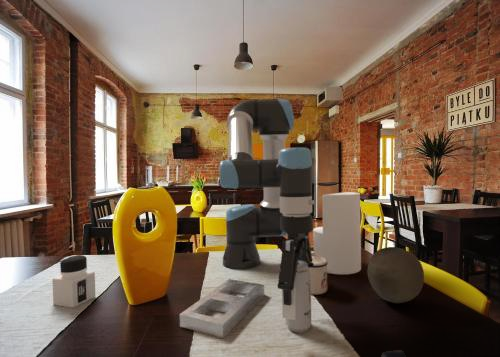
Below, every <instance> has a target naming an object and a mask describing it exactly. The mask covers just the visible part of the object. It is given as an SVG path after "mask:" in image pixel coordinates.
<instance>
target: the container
mask: <svg viewBox="0 0 500 357" xmlns="http://www.w3.org/2000/svg"><path fill="white" fill-rule="evenodd" d="M59 264H60V275H58V276H55V277H53V278H52V303H53V305H54V306H58V307H59V306H60V307H65V308H69V309H73V308H76V307H78V306H80V305H82V304H84V303H86V302H88V301H90V300H92V299H94V298H95V297H96V273H95V271H90V270H88V267H87V266H88V259H87V256H85V255H83V254H82V255H81V254H76V255H70V256H65V257H64V258H62V259H61V260H60V262H59Z"/></svg>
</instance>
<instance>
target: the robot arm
mask: <svg viewBox="0 0 500 357" xmlns="http://www.w3.org/2000/svg"><path fill="white" fill-rule="evenodd" d="M294 119H295V116H294V111H293V106H292V104H291V102H290V101H289V100H288V99H286V98H285V99H284V98H266V99H265V98H263V99H260V98H259V99H253V98H251V99H247V100H244V101H241V102H238V104H236V105H235V106H234V107H233V108H231V110H230V111H229V113H228V115H227V117H226V128H227V130H228V144H227V145H228V146H227V159H225V160H221V161H220V162H219V166H218V168H219V170H218V171H219V172H218V173H219V174H218V176H219V184H220V187H221V188H224V189H234V190H235V189H236V190H237V189H252V188H253V189H254V188H255V189H256V188H258V189H259V188H260V189H261V188H263V200H262V201H260V203H259V207H256V205H254V204H252V203H251V204H250V203H249V204H240V205H236V206H231V207H229V208H228V209H227V210H226V212H225V214H226V215H225V224H226V227H225V228H226V230H225V231H226V246H225V249H224V252H223V256H222V265H223V266H224V267H226V268H229V269H237V270H240V269H241V270H244V269H251V268H255V267H257V266H259V265H260V264H261V255H260V253H259V250H258V247H257V244H256V238H262V237H263V238H265V237H278V238H279V237H286V236H287V239H285V240H282V242H281V244H282V246H281V247H282V250H281V259H280V268H279V275H278V283H277V288H278V289H279V290H281V296H282V297H281V299H282V300H281V303H282V304H281V305H282V306H281V308H282V318H283V319H285V318H287V319H292V320H295V319H296V298H295V288H294V282H295V276H296V270H297V264H298V260H300V261H305V262H307V264H308V265H307V266H308V267H313V266H314V263H311V262H312V254H311V251H312V249H311V241H310V236H309V235H310V233H312V232H313V229H314V225H313V224H314V220H313V219H314V217H313V216H312V214H311V213H313V205H315V204H316V202H315V200H314V199H313V174H312V173H313V172H312V171H313V168H312V166H313V160H312V151H311V150H310V149H309V148H308V147H286V140H287V138H288V137H289V136H290V131H292V130H294V126H295V125H294V123H295V120H294ZM252 131H255V132H256V131H258V136H259V137H260V139H262V148H263V149H262V152H263V153H262V156H263V157H262V158H263V159H254V149H253V148H254V147H253V138H252V137H253V136H252ZM309 269H310V268H309ZM285 282H286V283H285Z"/></svg>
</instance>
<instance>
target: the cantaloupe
mask: <svg viewBox="0 0 500 357" xmlns="http://www.w3.org/2000/svg"><path fill="white" fill-rule="evenodd" d="M366 270H367V277H368V280H369V283H370V285H371V287H372V289H373V290H374V291H375V293H376V294H377V295H378V296H379V297H380V298H381V299H383V300H385V301H386V302H389V303H393V304H402V303H406V302H410V301H412V300H414V299H415V298H416V297H417V296H418V295H419V294H420V292H421V291H422V289H423V287H424V281H425V270H424V268H423V265H422V262H421V261H420V260H419V258H418V257H417V256H416V255H414V254H413V253H412V252H410V251H408V250H406V249H404V248H402V247H401V248H400V247H397V246H388V247H383V248H382V247H381V248H380V249H378V250H377V251H375V252H374V254H373V255H372V256H371V257H370V259H369V261H368V265H367V269H366Z"/></svg>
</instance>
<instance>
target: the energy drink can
mask: <svg viewBox="0 0 500 357" xmlns="http://www.w3.org/2000/svg"><path fill="white" fill-rule="evenodd" d="M307 265H308V264H307V262H305V261H300V260H298V264H297V270H296V276H295V282H294V288H295V298H296V319H295V320H292V319H287V318H284V319H285V320H284V321H285V325H286V326H287V328H288V329H289V330H290V331H292V332H294V333H298V334H299V333H306V332H307V331H309V329H310V328H311V326H312V294H311V276H310V269H309V267H308V266H307ZM285 283H286V282H285Z"/></svg>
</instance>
